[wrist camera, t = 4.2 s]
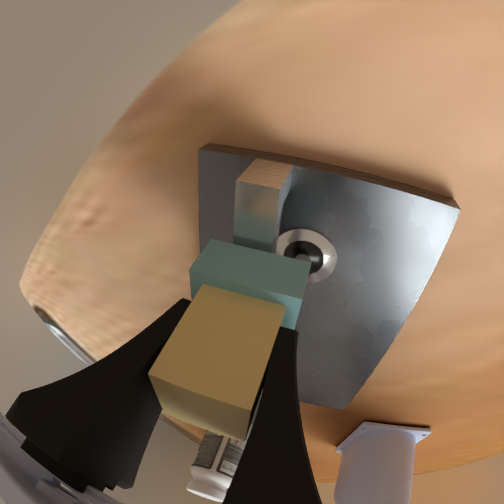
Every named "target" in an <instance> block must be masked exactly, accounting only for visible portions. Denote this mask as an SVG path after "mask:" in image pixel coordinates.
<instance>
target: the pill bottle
mask: <svg viewBox="0 0 504 504" xmlns="http://www.w3.org/2000/svg"><path fill="white" fill-rule="evenodd" d="M246 442H247V441H245V442H242V441H239V440H236V439H233V438H229V437H226V436H223V435H220V434H217V433H214V432H211V431H208V430H206V433H205V435H204V437H203V440H202V442H201V444H200V447H199V449H198V452H197V454H196V456H195V459H194V461H193V464H192V465H191V468H190V472H191V474H192V475H193V480H191V481H190V482H189V483H188V486H187V490H188V491H190V492H192V493H195V494H197V495H200V496H202V497H205V498H208V499H211V500H214V501H218V502H223V500H224V498H225V496H226V492H225V491H226V488H229V486H230V484H231V481H232V479H233V476H234V474H235V471H236V469H237V466H238V463H239V461H240V458H241V456H242V453H243V450H244V448H245V445H246Z"/></svg>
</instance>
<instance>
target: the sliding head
mask: <svg viewBox="0 0 504 504" xmlns="http://www.w3.org/2000/svg"><path fill="white" fill-rule="evenodd" d="M310 267H311V259H310V258H309V257H308V256H307V255H305V254H299V255H297V256H296V257H295V259H294V258H289V257H285V256H281V255H277V254H273V253H269V252H264V251H260V250H256V249H252V248H248V247H244V246H240V245H235V244H231V243H227V242H223V241H219V240H214V239H211V240H210V241H209V243H208V244H207V245H206V247H205V248H204V250H203V251H202V252H201V254H200V255H199V257H198V258H197V259H196V261H195V262H194V264H193V265H192V266H191V268H190V269H189V272H190V285H191V297H192V302H191V303H190V305H189V307H188V308H187V310H186V312H185V313H184V315H183V316H182V318H181V320H180V321H179V323H178V325H177V326H176V328H175V329H174V331H173V333H172V334H171V336H170V338H169V339H168V341H167V343H166V344H165V346H164V348H163V349H162V351H161V353H160V354H159V356H158V358H157V359H156V361H155V363H154V364H153V366H152V368H151V369H150V371H149V373H148V375H149V378H150V380H151V383H152V385H153V388H154V390H155V393H156V395H157V397H158V400H159V402H160V404H161V407H162V409H163V411H164V414H166V415H169V416H171V417H174V418H176V419H179V420H181V421H184V422H186V423H189V424H192V425H194V426H197V427H200V428H203V429H205V430H208V431H211V432H214V433H217V434H220V435H223V436H226V437H229V438H233V439H236V440H239V441H242V442H245V440H246V437H247V434H248V432H249V429H250V426H251V423H252V420H253V417H254V415H255V412H256V409H257V406H258V403H259V400H260V397H261V394H262V391H263V387H264V382H265V378H266V374H267V370H268V365H269V361H270V356H271V352H272V348H273V345H274V342H275V339H276V336H277V333H278V331H279V328H280V326H282V327H286V328H289V329H293V330H294V329H295V325H296V322H297V318H298V315H299V311H300V307H301V304H302V300H303V296H304V292H305V288H306V284H307V279H308V275H309V271H310Z"/></svg>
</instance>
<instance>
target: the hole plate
mask: <svg viewBox="0 0 504 504" xmlns="http://www.w3.org/2000/svg"><path fill="white" fill-rule="evenodd" d="M256 158H258V159H264V160H270V161H275V162H280V163H286V164H291V165H293V170H292V177H291V184H290V191H289V193H288V195H287V197H286V199H285V201H284V203H283V208H282V215H281V222H280V228H279V235H278V242H277V249H276V254H277V255H281V256H285V257H289V258H294V259H295V257H296V256H297V255H299V254H305V255H307V256H308V257H309V258H310V259H311V267H310V271H309V275H308V279H307V284H306V288H305V292H304V296H303V300H302V304H301V307H300V311H299V315H298V318H297V322H296V325H295V329H294V330H297V332H298V333H299V335H298V342H297V385H298V398H299V401H301V402H305V403H310V404H314V405H319V406H324V407H329V408H334V409H339V410H344V409H345V408H346V407H347V405H348V404H349V403H350V402H351V400H352V399H353V398H354V396H355V395H356V394H357V392H358V391H359V390H360V388H361V387H362V386H363V384H364V383H365V382H366V380H367V379H368V378H369V376H370V375H371V373H372V372H373V370H374V369H375V368H376V366H377V365H378V363H379V362H380V360H381V359H382V357H383V356H384V354H385V353H386V351H387V350H388V348H389V347H390V345H391V344H392V342H393V341H394V339H395V337H396V336H397V334H398V333H399V331H400V329H401V328H402V326H403V324H404V323H405V321H406V319H407V318H408V316H409V314H410V313H411V311H412V309H413V307H414V306H415V304H416V302H417V300H418V299H419V297H420V295H421V293H422V291H423V289H424V288H425V286H426V284H427V282H428V280H429V278H430V276H431V274H432V272H433V270H434V268H435V266H436V264H437V262H438V260H439V258H440V256H441V254H442V252H443V250H444V247H445V245H446V243H447V241H448V239H449V236H450V234H451V232H452V230H453V227H454V225H455V223H456V220H457V218H458V215H459V213H460V208H459V206H458V204H457V203H456V201H455V200H453V199H450V198H447V197H444V196H441V195H438V194H435V193H432V192H429V191H426V190H422V189H419V188H416V187H413V186H409V185H406V184H402V183H399V182H395V181H392V180H388V179H385V178H381V177H377V176H373V175H370V174H366V173H362V172H358V171H354V170H350V169H346V168H341V167H337V166H333V165H328V164H324V163H319V162H314V161H310V160H305V159H300V158H295V157H290V156H284V155H279V154H274V153H268V152H262V151H256V150H250V149H244V148H237V147H230V146H223V145H216V144H206V145H205V146H203V147H202V148H200V149H199V233H200V254H201V252H202V251H203V250H204V248H205V247H206V245H207V244H208V243H209V241H210V240H211V239H214V240H219V241H223V242H227V243H231V244H233V228H234V208H235V189H236V180H237V179H238V178H239V177H240V176H241V174H242V173H243V172H244V171H245V170H246V169H247V168H248V167H249V166H250V165H251V163H252V162H253V161H254V160H255V159H256Z"/></svg>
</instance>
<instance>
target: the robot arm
mask: <svg viewBox="0 0 504 504" xmlns="http://www.w3.org/2000/svg"><path fill="white" fill-rule="evenodd" d="M191 302H192V301H190V300H187V299H184V298H182V299H180V300H179V301H178V302H177V303H176V304H174V305H173V306H172V307H171V308H170V309H169V310H168V311H166V312H165V313H164V314H163V315H162V316H160V317H159V318H158V319H157V320H156V321H154V322H153V323H152V324H151V325H149V326H148V327H147V328H146V329H144V330H143V331H142V332H140V333H139V334H138V335H137V336H135V337H134V338H133V339H131V340H130V341H128V342H127V343H125V344H124V345H123V346H121V347H120V348H118V349H117V350H115V351H114V352H112V353H111V354H109V355H108V356H106V357H104V358H103V359H101V360H99V361H98V362H96V363H94V364H92V365H90V366H88V367H87V368H85V369H83V370H81V371H79V372H77V373H75V374H73V375H70V376H68V377H66V378H63V379H61V380H58V381H56V382H53V383H51V384H48V385H45V386H42V387H39V388H35V389H32V390H29V391H25V392H22V393H21V394H20V395H19V396H18V398H17V399H16V400H15V402H14V403H13V405H12V406H11V408H10V409H9V411H8V412H7V414H6V415H5V416H6V417H5V416H4V415H3V414H1V412H0V497H1V498H2V499H3V501H4V502H5V503H6V504H90V503H92V504H123V503H121V502H119V501H117V500H115V499H114V498H112V497H110V496H108V495H107V494H105V493H103V490H104V489H105V487H107V488H108V489H110V490H113V489H114V488H115V486H116V485H117V486H119V487H121V488H123V489H128V488H131V487H133V484H134V481H135V478H136V475H137V472H138V468H139V465H140V463H141V460H142V457H143V454H144V451H145V449H146V446H147V444H148V441H149V439H150V436H151V434H152V431H153V429H154V427H155V424H156V422H157V420H158V418H159V415H160V413H161V411H162V407H161V404H160V402H159V400H158V397H157V395H156V393H155V390H154V388H153V385H152V383H151V380H150V378H149V375H148V373H149V371H150V369H151V368H152V366H153V364H154V363H155V361H156V359H157V358H158V356H159V354H160V353H161V351H162V349H163V348H164V346H165V344H166V343H167V341H168V339H169V338H170V336H171V334H172V333H173V331H174V329H175V328H176V326H177V325H178V323H179V321H180V320H181V318H182V316H183V315H184V313H185V312H186V310H187V308H188V307H189V305H190V303H191ZM298 335H299V333H298V332H297V330H293V329H289V328H286V327H282V326H280V328H279V331H278V333H277V336H276V339H275V342H274V345H273V348H272V352H271V356H270V361H269V365H268V370H267V374H266V378H265V382H264V387H263V391H262V396H261V400H260V404H259V409H258V412H257V415H256V418H255V420H254V423H253V426H252V429H251V432H250V434H249V437H248V440H247V442H246V445H245V448H244V450H243V453H242V456H241V458H240V461H239V463H238V466H237V469H236V471H235V474H234V476H233V479H232V481H231V484H230V486H229V488H228V491H227V493H226V496H225V498H224V500H223V503H222V504H322V502H321V499H320V496H319V493H318V490H317V486H316V483H315V480H314V476H313V472H312V468H311V465H310V461H309V457H308V453H307V448H306V443H305V438H304V433H303V428H302V421H301V414H300V406H299V398H298V385H297V342H298ZM13 426H14V427H16V428H17V429H18V430H19V431H20V432H21V433H22V434H23V435H22V434H21V433H20V432H19V431H18V430H17V429H16V428H14V427H13ZM430 433H431V429H429V428H417V427H406V426H397V425H389V424H381V423H374V422H363V423H362V424H361V425H360V426H359V427H358V428H357V429H356V430H355V431H354V432H352V433H351V434H350V435H349V436H348V437H347V438H346V439H345V440H344V441H343V442H342V443H341V444H340V445H339V446H337V447H336V449H335V451H336V452H340V453H342V458H341V463H340V468H339V473H338V478H337V482H336V487H335V492H334V500H335V503H336V504H409V503H410V496H411V487H412V479H413V469H414V457H415V444H416V443H418V442H419V441H421V440H422V439H424V438H425V437H426V436H428V435H429V434H430ZM24 435H25V436H26V437H25V436H24ZM60 482H61V483H62V484H63V485H65V486H66V487H68V488H69V489H71V490H72V491H73V492H71V491H70V490H68V489H66V488H64V487H62V486H61V483H60ZM74 492H75V493H74ZM77 494H78V495H77ZM82 497H83V498H82ZM85 499H86V500H87V501H86V500H85ZM88 501H89V502H90V503H89V502H88Z"/></svg>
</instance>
